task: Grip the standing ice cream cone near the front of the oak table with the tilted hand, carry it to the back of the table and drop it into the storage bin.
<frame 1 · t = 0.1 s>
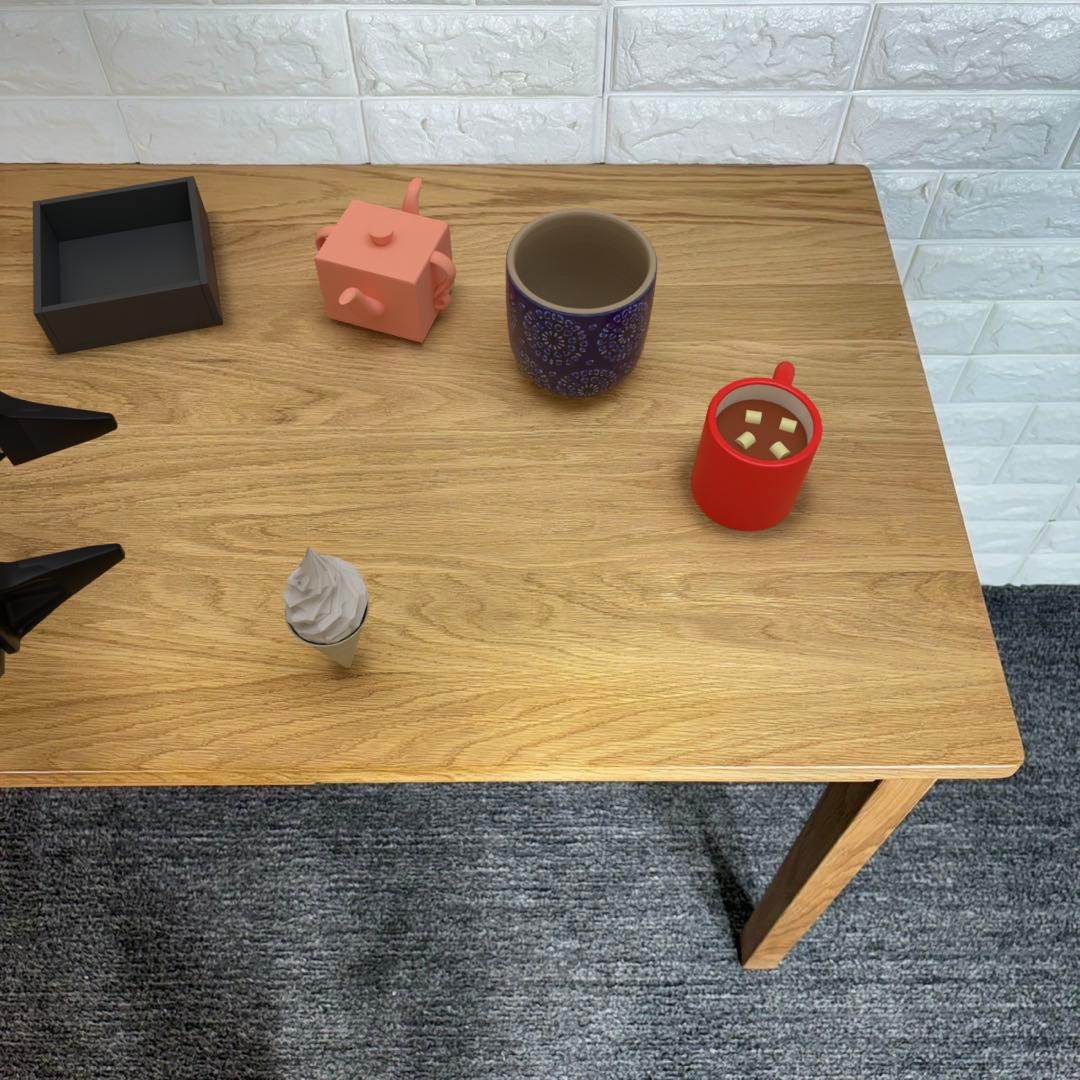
hand: (119, 482, 57), 14 cm above the table, tool horizontal, fingers open, 9 cm apart
teapot: (393, 307, 84), on the table
planter: (574, 365, 81), on the table
ice cream cone: (348, 665, 67), on the table
mug: (749, 467, 76), on the table
storage bin: (136, 283, 85), on the table
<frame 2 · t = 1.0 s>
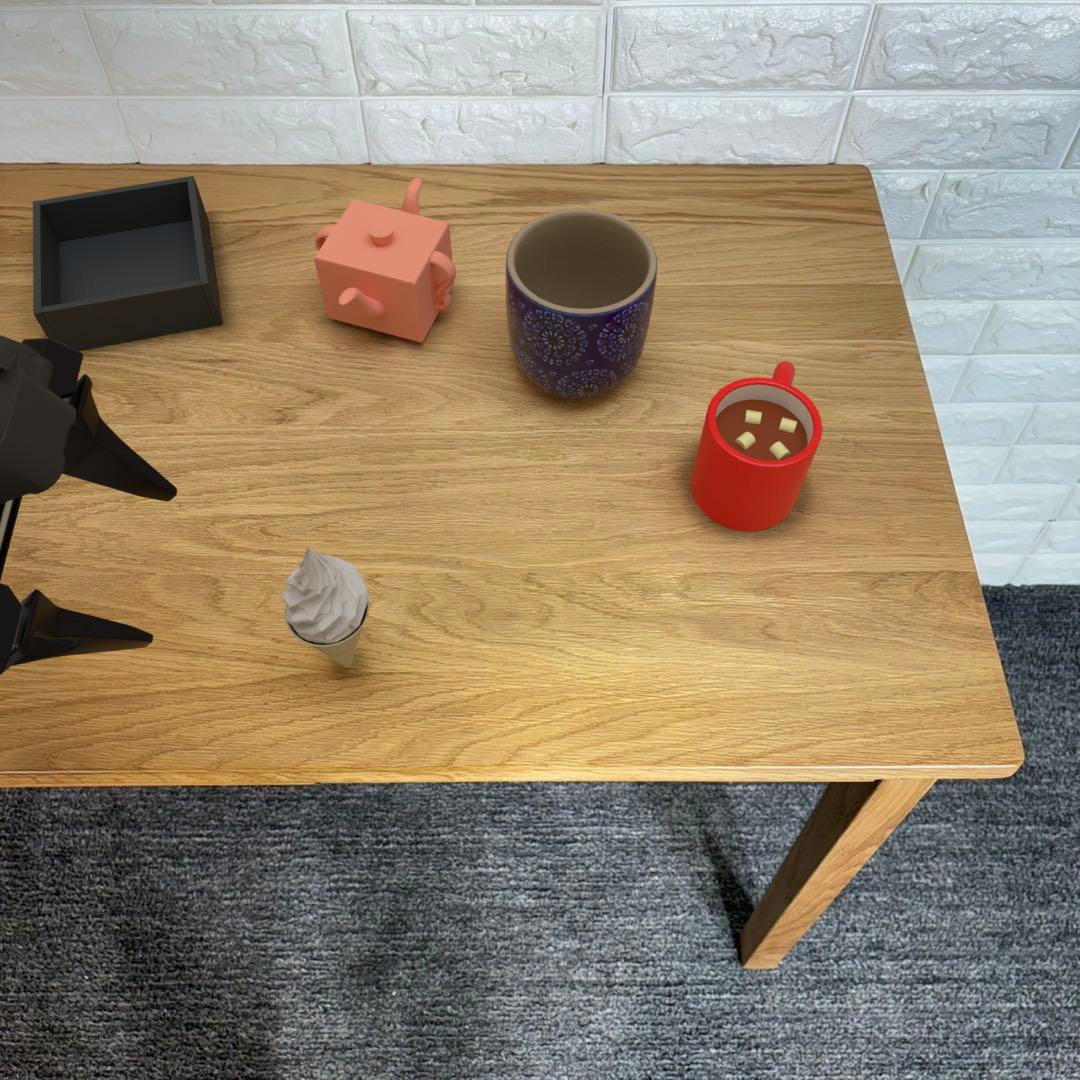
hand: (162, 565, 54), 14 cm above the table, tool tilted 45°, fingers open, 9 cm apart
nothing on the table moved.
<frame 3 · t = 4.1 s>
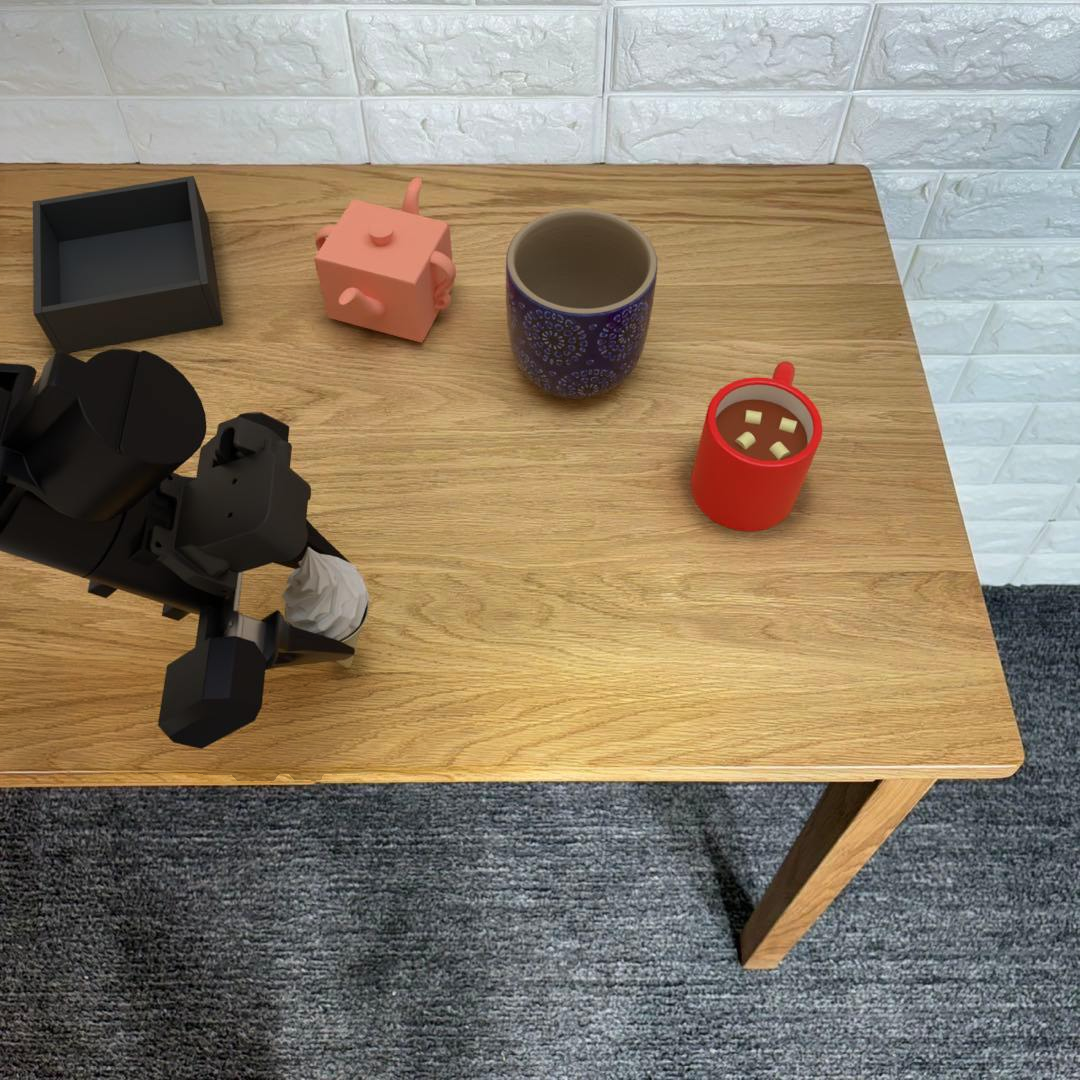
hand: (352, 615, 60), 7 cm above the table, tool tilted 45°, fingers closed on ice cream cone, 5 cm apart
ice cream cone: (348, 665, 67), on the table, touching gripper
everything else where it was.
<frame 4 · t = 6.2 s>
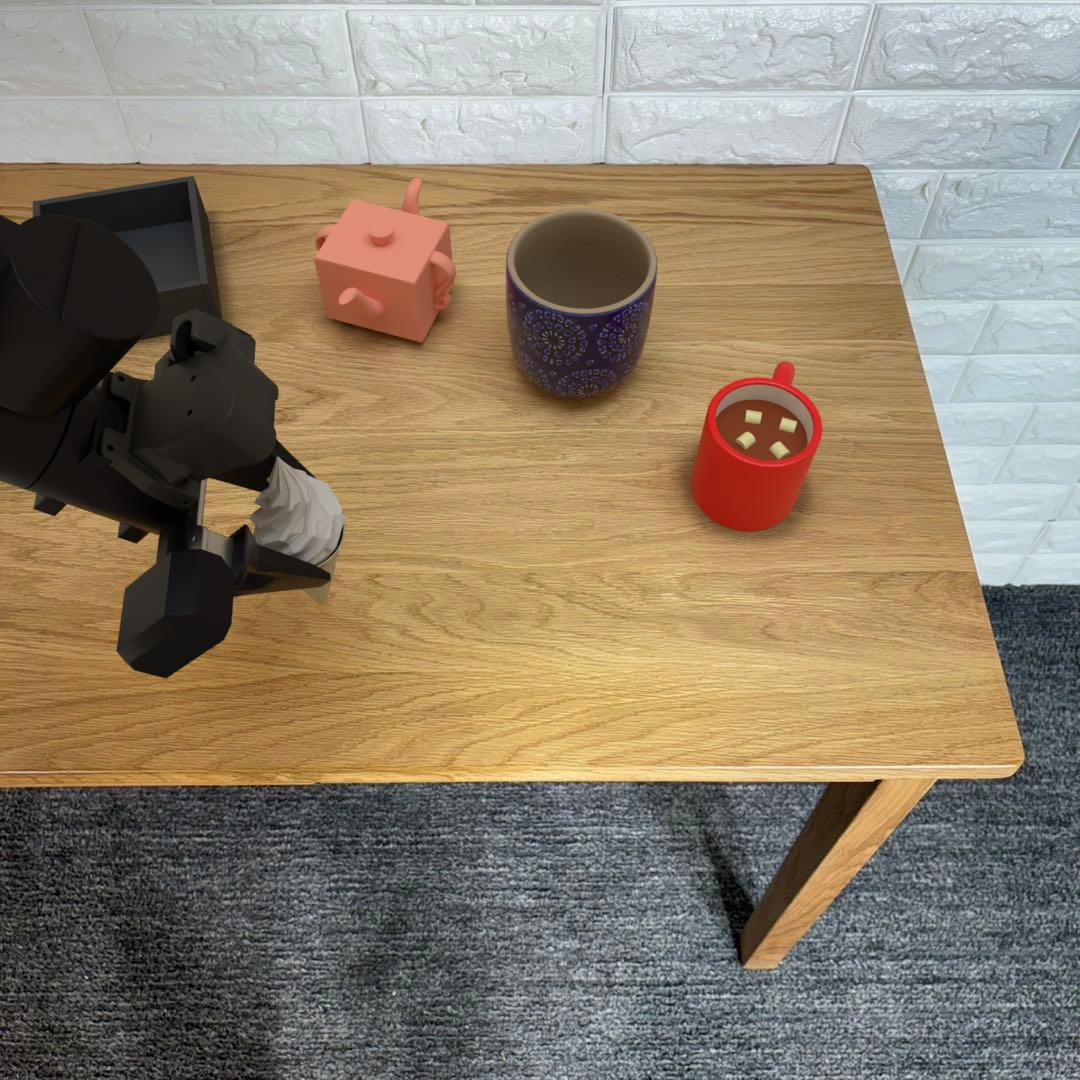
hand: (327, 540, 56), 13 cm above the table, tool tilted 45°, fingers closed on ice cream cone, 5 cm apart
ice cream cone: (323, 602, 62), point 6 cm above the table, touching gripper
everything else where it was.
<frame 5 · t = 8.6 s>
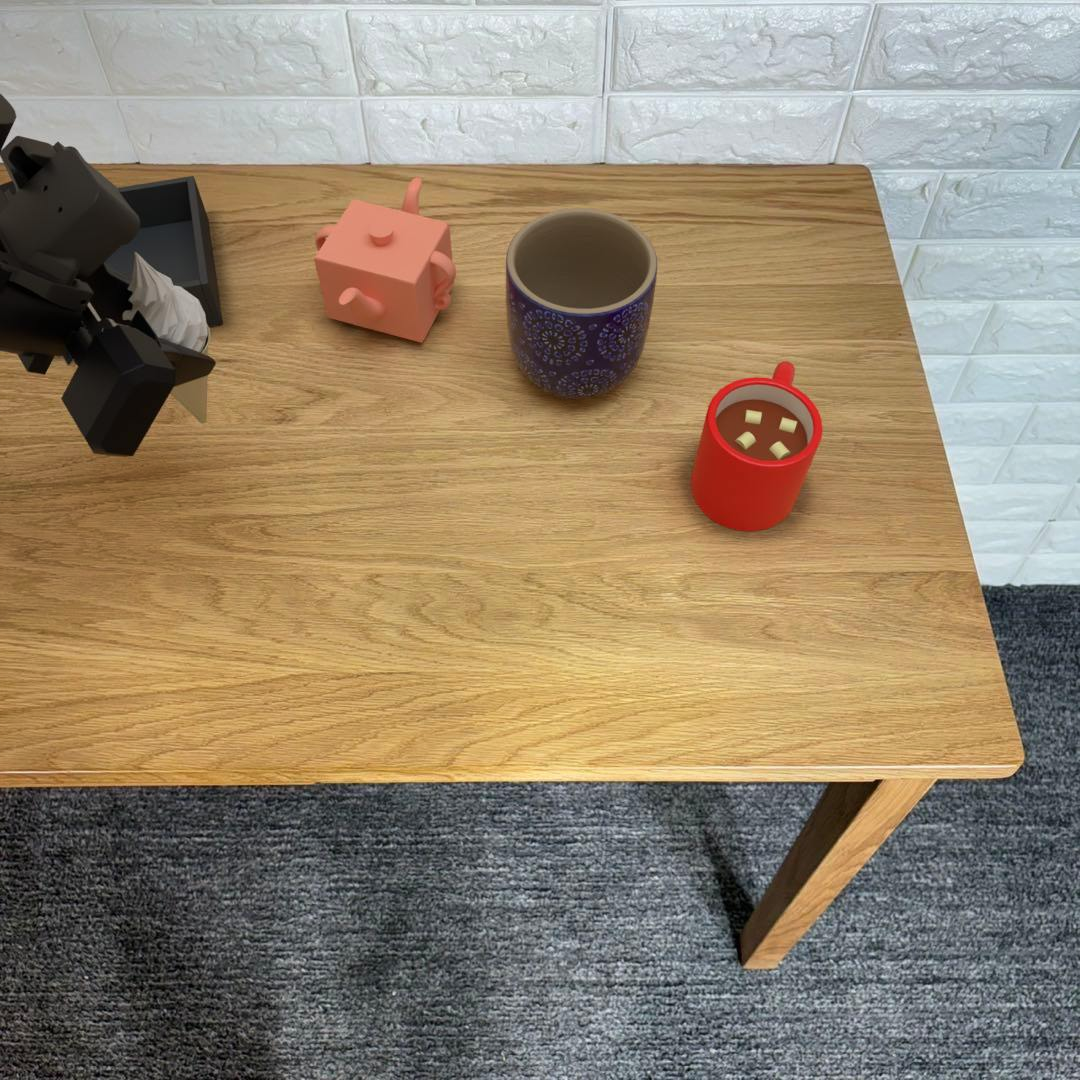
hand: (193, 341, 64), 13 cm above the table, tool tilted 45°, fingers closed on ice cream cone, 5 cm apart
ice cream cone: (204, 422, 69), point 6 cm above the table, touching gripper
everything else where it was.
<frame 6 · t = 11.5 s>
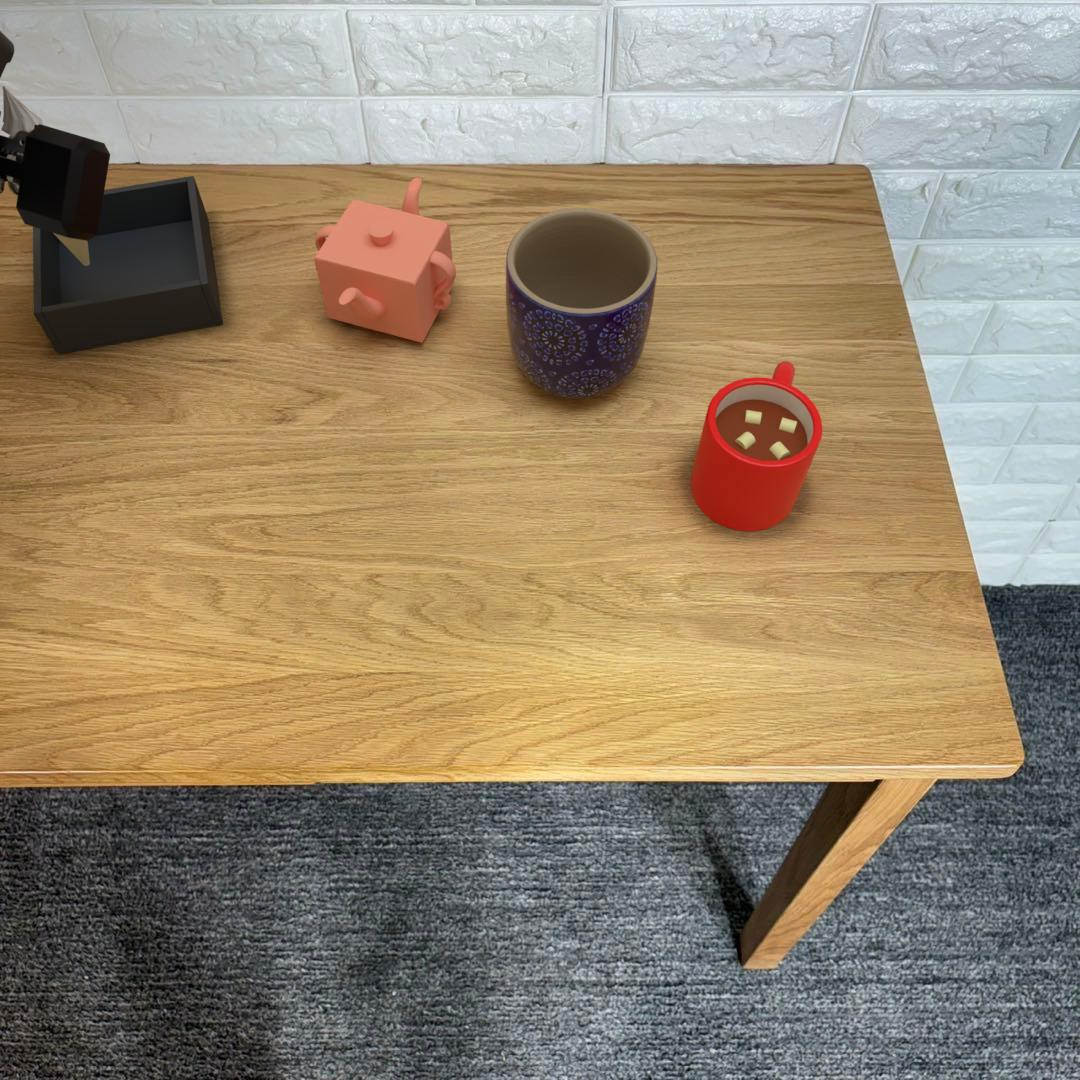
hand: (62, 177, 72), 13 cm above the table, tool tilted 45°, fingers closed on ice cream cone, 5 cm apart
ice cream cone: (87, 265, 78), point 5 cm above the table, touching gripper
everything else where it was.
when the fingers open (8 cm above the table, at t = 13.6 s): ice cream cone stays where it is, resting on storage bin.
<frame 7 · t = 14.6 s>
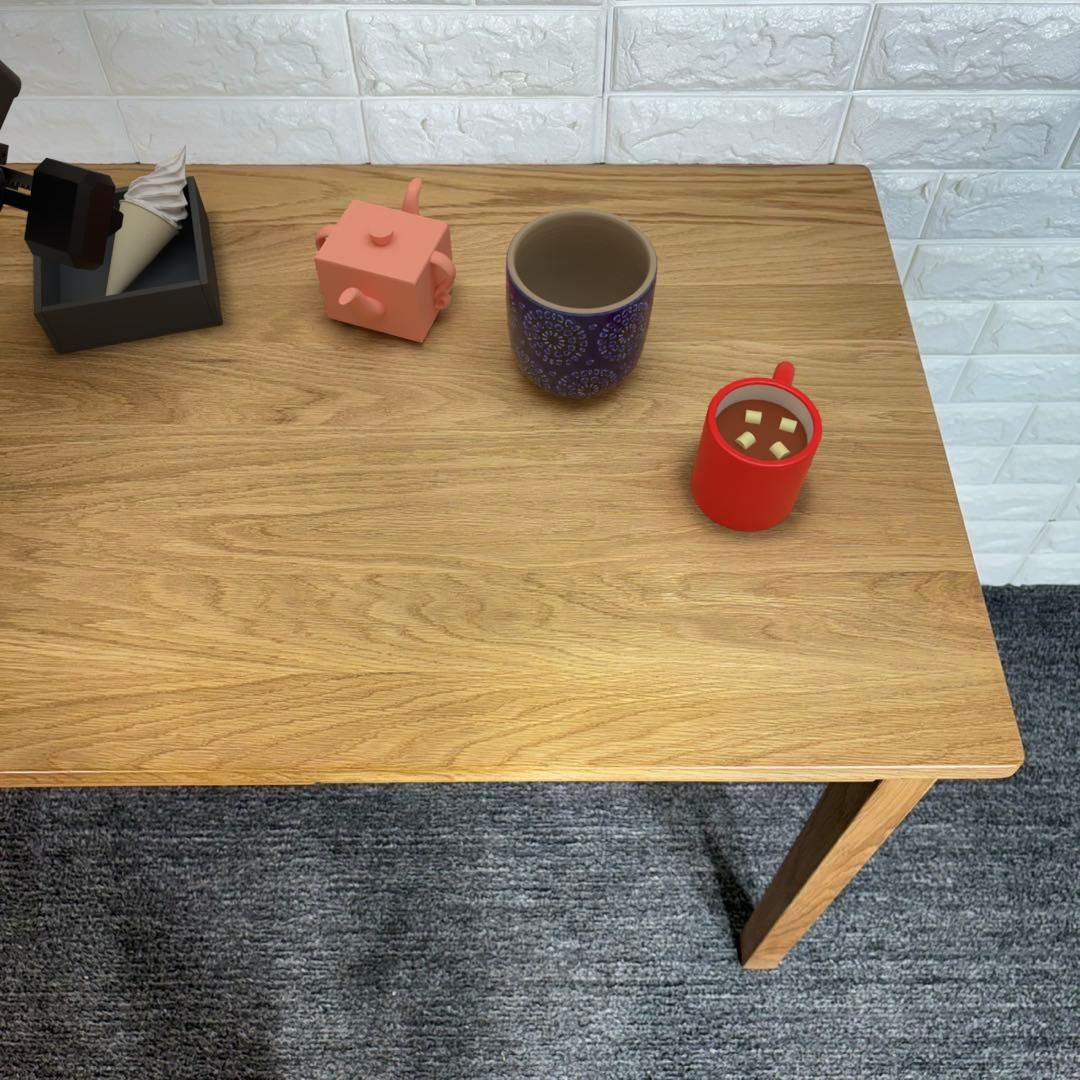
hand: (68, 204, 74), 11 cm above the table, tool tilted 45°, fingers open, 9 cm apart
ice cream cone: (106, 306, 82), point 1 cm above the table, touching storage bin
everything else where it was.
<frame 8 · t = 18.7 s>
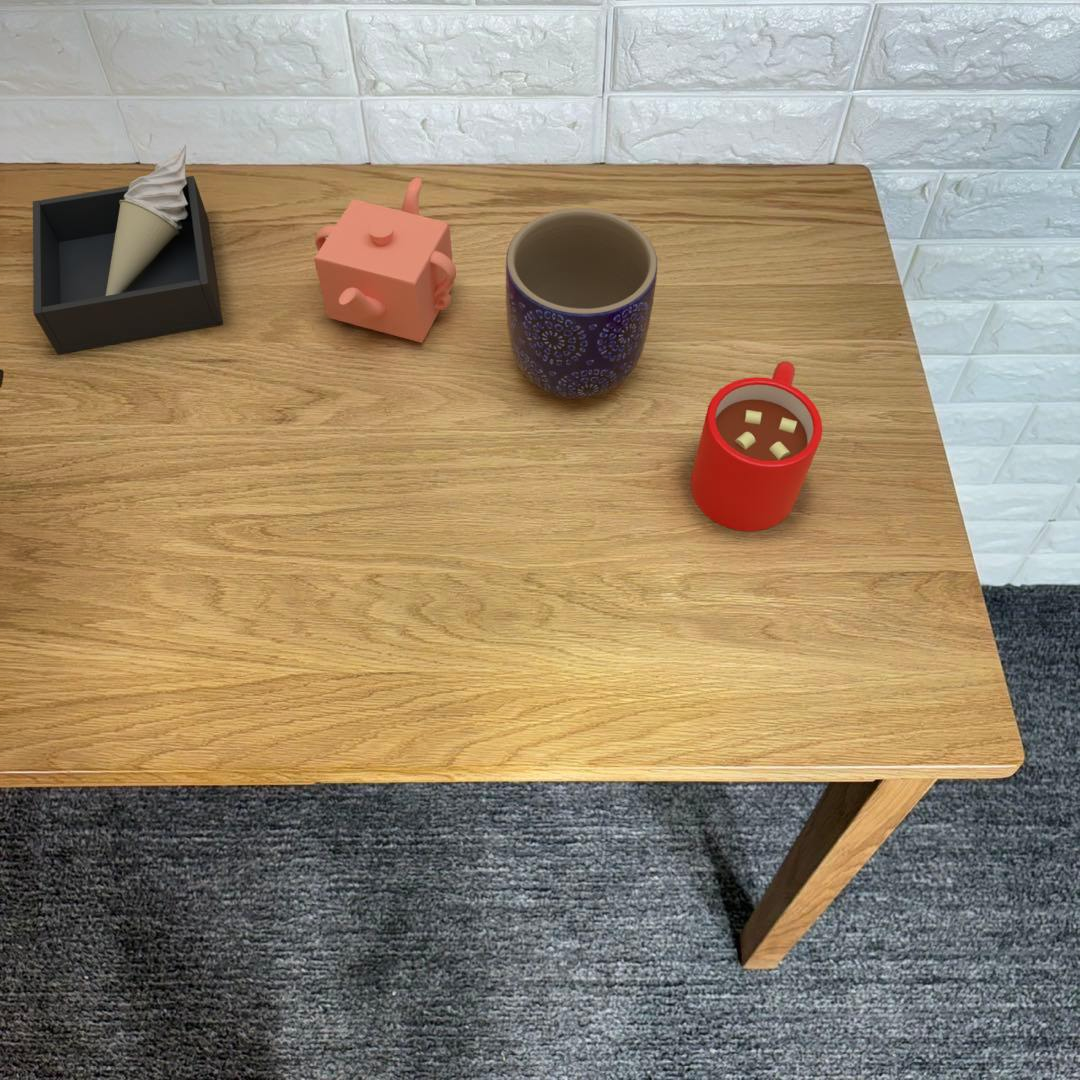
nothing on the table moved.
at the end: ice cream cone inside the target area in the storage bin (3.9 cm from its centre), point 0.9 cm above the storage bin's base; the gripper is holding nothing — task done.
